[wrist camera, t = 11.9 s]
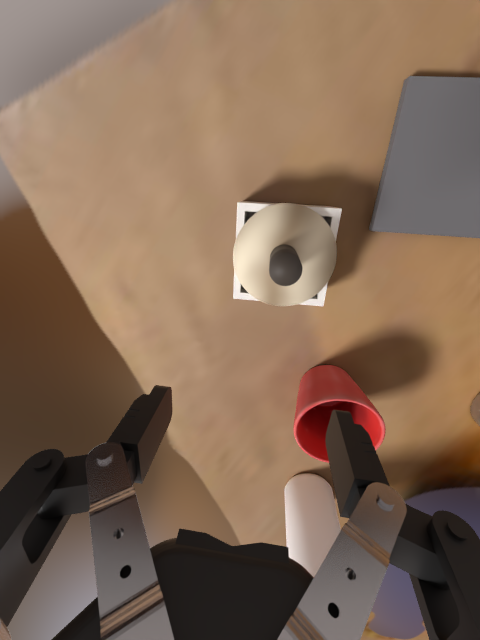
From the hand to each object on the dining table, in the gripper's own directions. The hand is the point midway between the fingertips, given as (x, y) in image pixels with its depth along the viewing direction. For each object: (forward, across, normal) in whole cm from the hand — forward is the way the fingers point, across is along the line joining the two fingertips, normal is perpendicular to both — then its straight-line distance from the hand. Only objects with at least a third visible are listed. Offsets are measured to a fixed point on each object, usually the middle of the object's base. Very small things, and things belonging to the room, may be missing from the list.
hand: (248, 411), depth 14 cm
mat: (+25, -20, -14) cm, 35 cm away
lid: (+20, -2, -4) cm, 21 cm away
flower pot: (+26, -11, +16) cm, 32 cm away
